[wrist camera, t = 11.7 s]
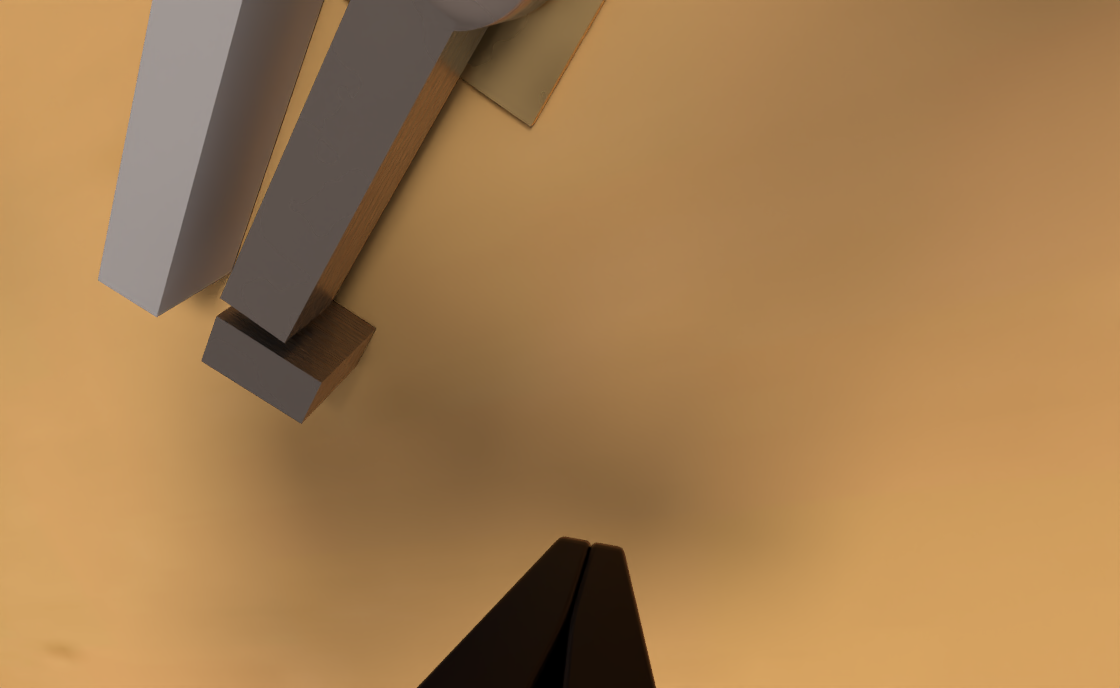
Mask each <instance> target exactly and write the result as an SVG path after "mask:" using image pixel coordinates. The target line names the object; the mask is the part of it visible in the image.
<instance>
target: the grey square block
mask: <svg viewBox="0 0 1120 688" xmlns="http://www.w3.org/2000/svg"><path fill="white" fill-rule="evenodd" d="M375 329H376V328H374V327H373V326H371V325H370V324H368V323H366V322H365V321H363V320H362V319H360V318H359V317H357V316H356V315H354V314H353V313H351V312H350V311H348V310H346V309H345V308H343V307H342V306H340V305H339V304H337V303H336V302H334V301H333V300H332V302H331V304H330V305H329V307H327V308H326V309H325V310H324V311H323V312H321V313H320V314H319V315H318V316H317V317H315V318H314V319H313V320H312V321H311V322H309V323H308V324H307V325H306V326H305V327H303V328H302V329H301V330H300V331H299V332H297V333H296V334H295V335H294V336H293V337H291V338H290V339H289V340H288V341H287V342H285V343H283V342H282V341H281V340H279V339H278V338H276V337H275V336H274V335H272V334H271V333H269V332H268V331H266V330H265V329H264V328H262V327H261V326H259V325H258V324H256V323H255V322H254V321H252V320H251V319H249V318H248V317H247V316H245V315H244V314H242V313H241V312H239V311H238V310H237V309H235V308H234V307H232V306H231V307H229V308H228V309H226V310H225V311H223V312H222V313H221V314H219V315H218V316H216V319H215V322H214V325H213V328H212V331H211V334H210V337H209V340H208V343H207V346H206V349H205V352H204V355H203V358H202V362H204V363H205V364H207V365H208V366H210V367H212V368H213V369H215V370H216V371H218V372H220V373H221V374H223V375H224V376H226V377H228V378H229V379H231V380H232V381H234V382H236V383H237V384H239V385H240V386H242V387H244V388H245V389H247V390H248V391H250V392H251V393H253V394H255V395H256V396H258V397H259V398H261V399H263V400H264V401H266V402H267V403H269V404H271V405H272V406H274V407H275V408H277V409H279V410H280V411H282V412H283V413H285V414H287V415H288V416H290V417H291V418H293V419H295V420H296V421H298V422H299V423H301V424H302V423H303V422H304V421H305V419H306V418H307V417H308V416H309V415H310V414H311V413H312V412H313V411H314V410H315V409H316V408H317V407H318V406H319V405H320V404H321V403H322V402H323V401H324V400H325V398H326V397H327V396H328V395H329V394H330V393H331V392H332V391H333V390H334V389H335V388H336V387H337V386H338V385H339V384H340V383H341V382H342V381H343V380H344V379H345V377H346V376H347V375H348V374H349V373H350V372H351V371H352V370H353V369H354V368H355V367H356V365H357V363H358V361H359V360H360V358H361V356H362V354H363V352H364V350H365V348H366V346H367V344H368V342H369V341H370V339H371V337H372V335H373V333H374V331H375Z"/></svg>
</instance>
